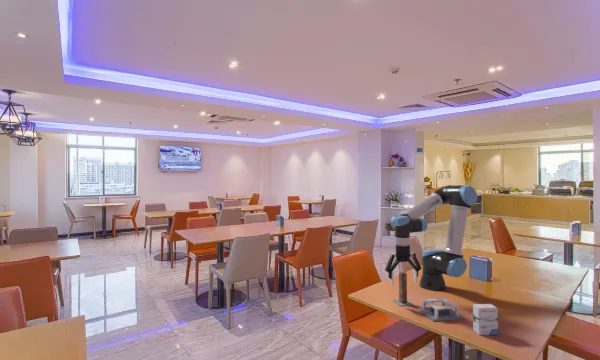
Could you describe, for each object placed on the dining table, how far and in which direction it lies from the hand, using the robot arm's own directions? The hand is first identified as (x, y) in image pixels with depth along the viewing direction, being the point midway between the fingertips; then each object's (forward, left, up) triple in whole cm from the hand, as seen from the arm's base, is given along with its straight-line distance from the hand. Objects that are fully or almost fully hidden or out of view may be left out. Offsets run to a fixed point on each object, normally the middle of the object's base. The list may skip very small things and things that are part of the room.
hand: (403, 283), depth 175 cm
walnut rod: (0, 0, -10) cm, 10 cm away
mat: (0, 0, -10) cm, 11 cm away
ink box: (-19, +38, -11) cm, 44 cm away
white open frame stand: (-11, +17, -10) cm, 23 cm away
